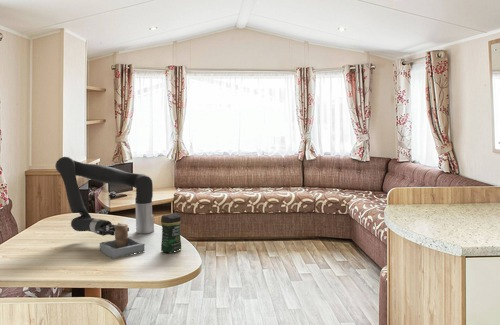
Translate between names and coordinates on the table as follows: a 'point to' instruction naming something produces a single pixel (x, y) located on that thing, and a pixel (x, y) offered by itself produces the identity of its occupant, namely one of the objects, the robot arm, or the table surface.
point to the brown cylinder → (121, 235)
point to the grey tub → (132, 248)
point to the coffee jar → (171, 232)
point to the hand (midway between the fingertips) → (121, 231)
